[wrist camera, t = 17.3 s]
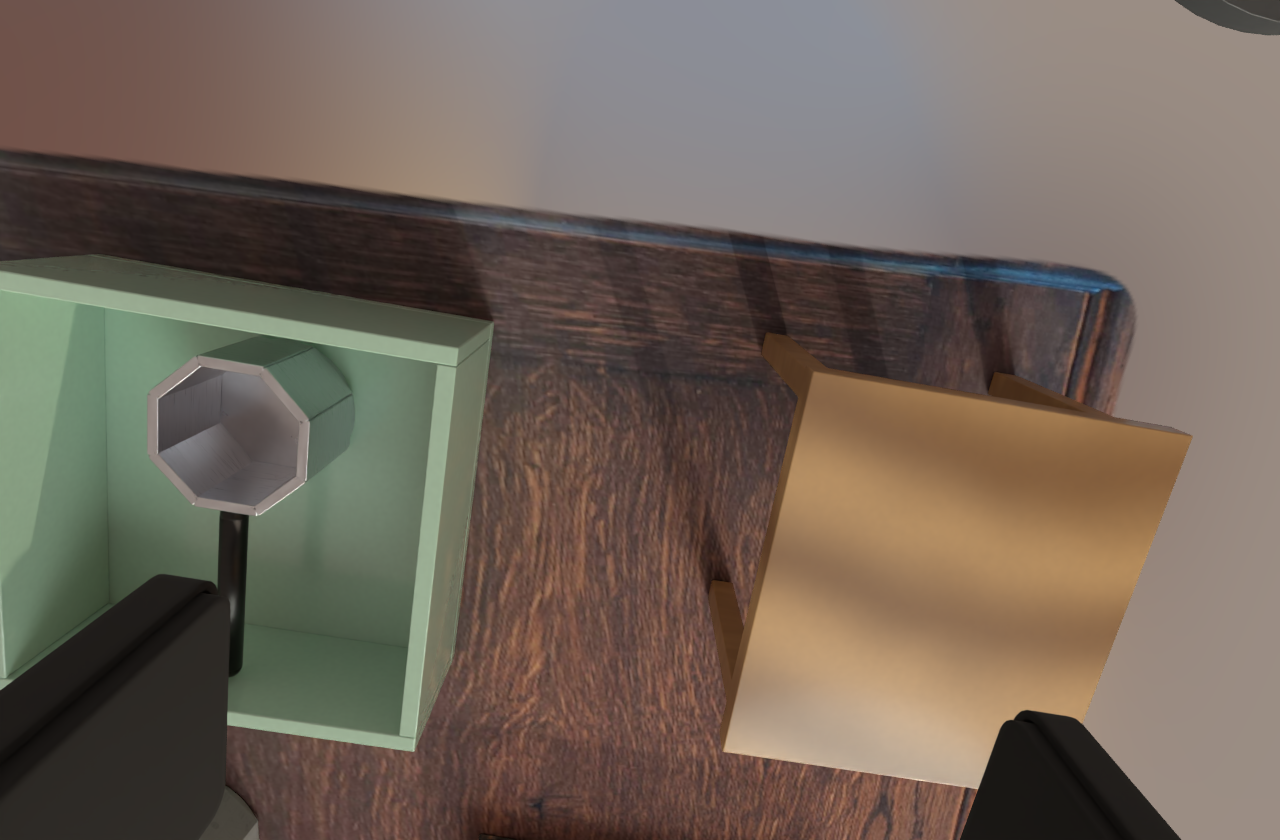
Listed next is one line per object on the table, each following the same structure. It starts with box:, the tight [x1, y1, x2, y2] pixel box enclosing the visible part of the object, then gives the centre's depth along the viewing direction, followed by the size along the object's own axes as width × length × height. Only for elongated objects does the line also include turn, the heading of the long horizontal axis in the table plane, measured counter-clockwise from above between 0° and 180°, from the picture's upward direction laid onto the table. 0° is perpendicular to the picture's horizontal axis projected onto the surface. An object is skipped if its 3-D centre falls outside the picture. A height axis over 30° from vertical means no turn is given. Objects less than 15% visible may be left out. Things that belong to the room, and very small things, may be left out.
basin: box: [0, 254, 494, 752], centre depth 36 cm, size 20×20×8 cm
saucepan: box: [147, 337, 355, 678], centre depth 36 cm, size 16×7×6 cm, turn 170°
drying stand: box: [708, 332, 1193, 789], centre depth 34 cm, size 16×14×12 cm
